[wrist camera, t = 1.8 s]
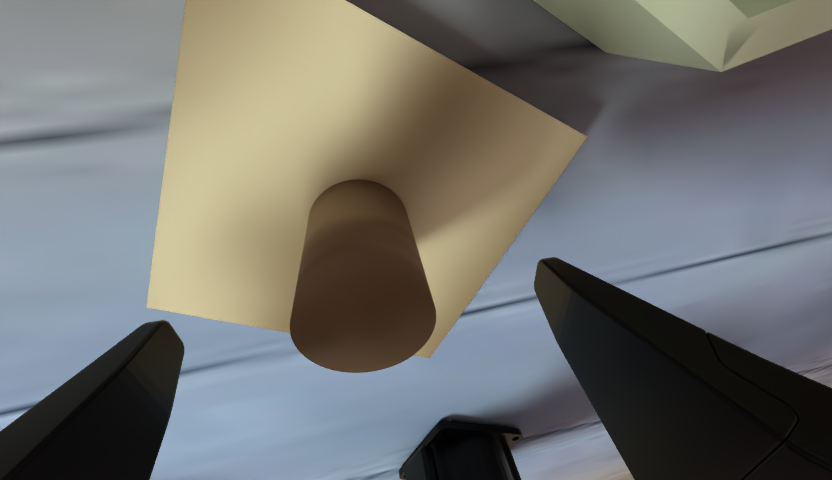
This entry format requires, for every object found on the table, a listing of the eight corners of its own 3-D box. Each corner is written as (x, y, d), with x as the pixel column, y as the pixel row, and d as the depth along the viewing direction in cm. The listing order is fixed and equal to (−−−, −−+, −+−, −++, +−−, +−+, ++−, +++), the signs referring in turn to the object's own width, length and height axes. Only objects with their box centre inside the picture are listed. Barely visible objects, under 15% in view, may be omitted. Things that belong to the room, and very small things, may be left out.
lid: (573, 129, 11) (708, 200, 7) (426, 343, 16) (454, 462, 12) (209, -76, 7) (27, -190, 3) (157, 291, 12) (56, 441, 8)
